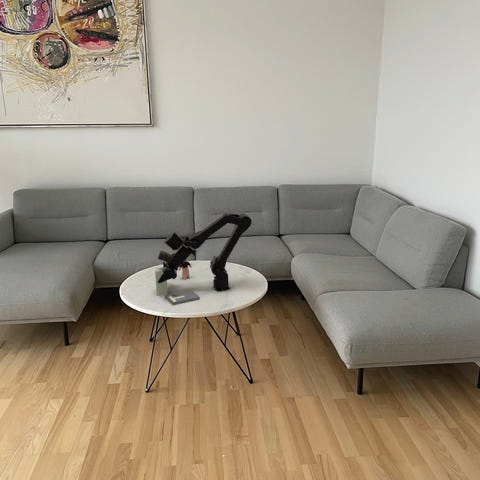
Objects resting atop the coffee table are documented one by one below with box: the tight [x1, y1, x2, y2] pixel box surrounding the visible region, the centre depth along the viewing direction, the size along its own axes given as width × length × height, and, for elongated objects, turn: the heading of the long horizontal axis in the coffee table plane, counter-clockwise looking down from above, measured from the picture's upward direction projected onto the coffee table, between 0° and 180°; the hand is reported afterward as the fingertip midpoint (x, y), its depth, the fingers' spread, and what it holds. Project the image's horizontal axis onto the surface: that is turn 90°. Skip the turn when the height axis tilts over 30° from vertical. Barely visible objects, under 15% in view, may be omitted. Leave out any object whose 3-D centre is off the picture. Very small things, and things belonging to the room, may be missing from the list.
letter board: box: [164, 289, 201, 306], centre depth 205 cm, size 13×10×1 cm
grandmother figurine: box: [178, 257, 192, 281], centre depth 228 cm, size 8×4×13 cm, turn 141°
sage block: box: [154, 266, 169, 296], centre depth 210 cm, size 5×5×12 cm
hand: (158, 280), depth 209 cm, fingers open, 6 cm apart
